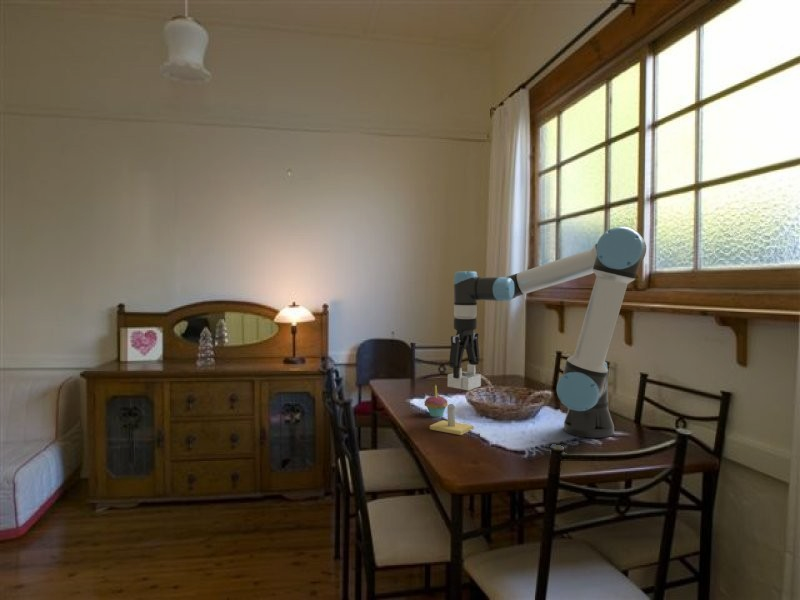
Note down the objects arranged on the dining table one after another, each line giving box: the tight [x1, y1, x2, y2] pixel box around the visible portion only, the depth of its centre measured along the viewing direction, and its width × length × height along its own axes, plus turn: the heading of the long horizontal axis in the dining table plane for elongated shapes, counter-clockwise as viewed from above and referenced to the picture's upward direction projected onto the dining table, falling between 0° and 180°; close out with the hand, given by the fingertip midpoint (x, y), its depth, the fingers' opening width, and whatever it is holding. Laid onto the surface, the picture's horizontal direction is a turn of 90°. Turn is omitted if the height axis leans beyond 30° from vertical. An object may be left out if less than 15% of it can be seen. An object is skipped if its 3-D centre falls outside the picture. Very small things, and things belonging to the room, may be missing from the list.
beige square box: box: [447, 371, 482, 391], centre depth 168 cm, size 8×8×4 cm
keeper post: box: [429, 403, 474, 436], centre depth 167 cm, size 12×8×8 cm, turn 52°
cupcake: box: [423, 384, 449, 418], centre depth 185 cm, size 9×8×12 cm
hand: (464, 385), depth 168 cm, fingers closed on beige square box, 8 cm apart
